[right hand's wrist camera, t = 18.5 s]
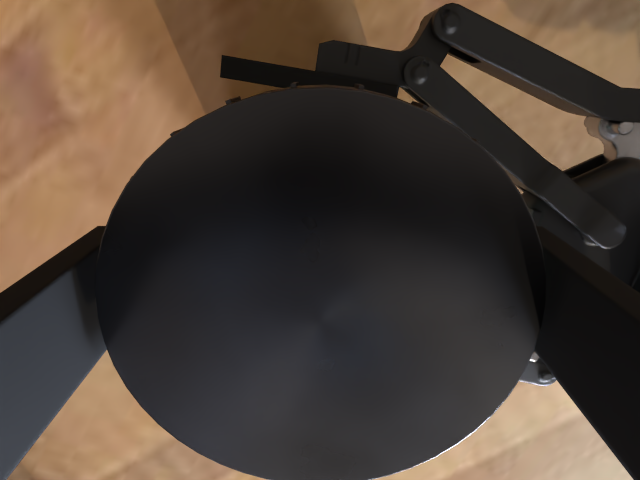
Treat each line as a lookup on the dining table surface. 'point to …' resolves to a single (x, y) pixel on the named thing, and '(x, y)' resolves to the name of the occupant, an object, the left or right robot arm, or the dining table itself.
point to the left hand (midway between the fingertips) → (218, 191)
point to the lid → (320, 284)
